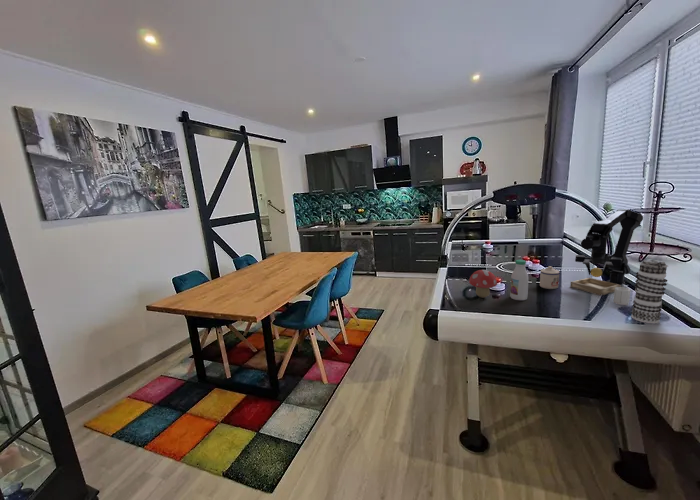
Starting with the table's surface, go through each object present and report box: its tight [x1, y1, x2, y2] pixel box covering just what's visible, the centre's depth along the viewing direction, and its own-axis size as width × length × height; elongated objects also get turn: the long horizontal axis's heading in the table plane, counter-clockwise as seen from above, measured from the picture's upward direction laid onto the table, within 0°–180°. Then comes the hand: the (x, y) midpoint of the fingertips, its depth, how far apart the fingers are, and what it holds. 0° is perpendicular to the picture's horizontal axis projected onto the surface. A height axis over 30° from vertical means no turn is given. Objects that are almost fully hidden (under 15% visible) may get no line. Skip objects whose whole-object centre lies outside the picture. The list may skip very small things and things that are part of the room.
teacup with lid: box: [539, 265, 560, 290], centre depth 165 cm, size 12×9×12 cm
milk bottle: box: [509, 259, 529, 301], centre depth 151 cm, size 8×8×20 cm
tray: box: [569, 277, 622, 296], centre depth 158 cm, size 15×15×3 cm
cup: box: [612, 286, 631, 306], centre depth 138 cm, size 5×5×7 cm
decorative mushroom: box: [468, 269, 498, 299], centre depth 155 cm, size 13×13×15 cm
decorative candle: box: [630, 258, 669, 324], centre depth 120 cm, size 9×9×25 cm
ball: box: [590, 267, 603, 278], centre depth 157 cm, size 5×5×5 cm
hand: (596, 275), depth 157 cm, fingers closed on ball, 5 cm apart
